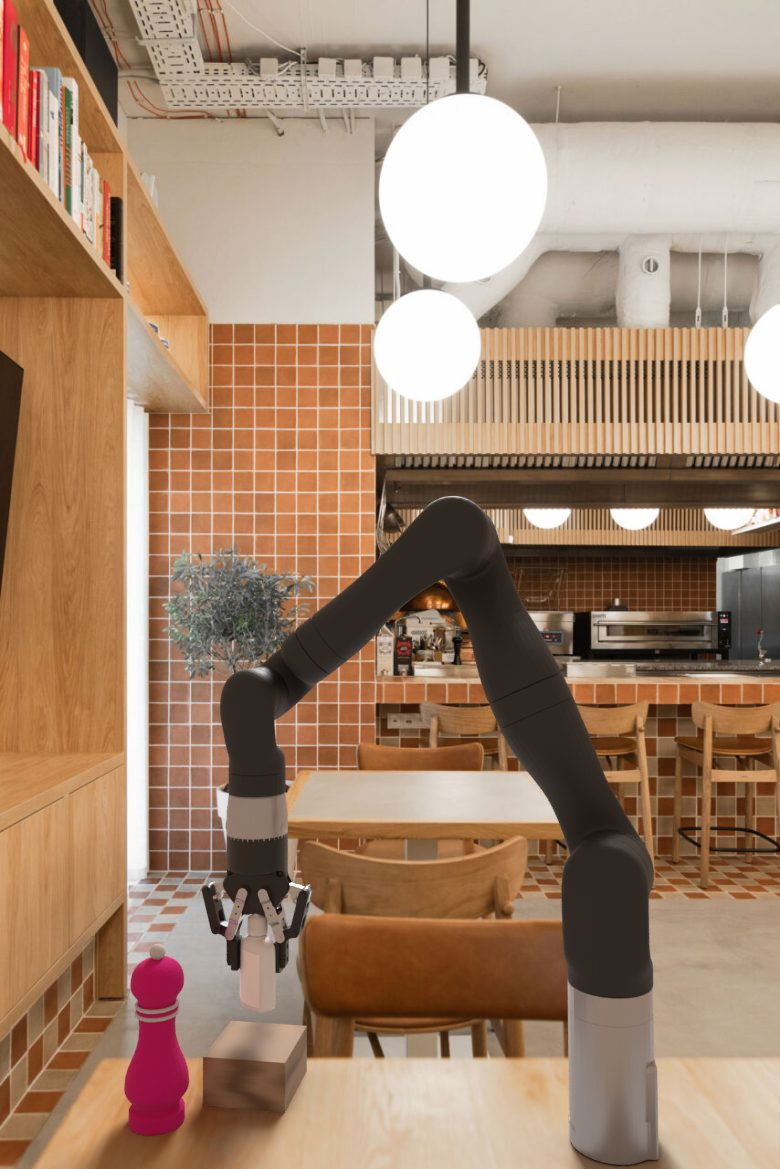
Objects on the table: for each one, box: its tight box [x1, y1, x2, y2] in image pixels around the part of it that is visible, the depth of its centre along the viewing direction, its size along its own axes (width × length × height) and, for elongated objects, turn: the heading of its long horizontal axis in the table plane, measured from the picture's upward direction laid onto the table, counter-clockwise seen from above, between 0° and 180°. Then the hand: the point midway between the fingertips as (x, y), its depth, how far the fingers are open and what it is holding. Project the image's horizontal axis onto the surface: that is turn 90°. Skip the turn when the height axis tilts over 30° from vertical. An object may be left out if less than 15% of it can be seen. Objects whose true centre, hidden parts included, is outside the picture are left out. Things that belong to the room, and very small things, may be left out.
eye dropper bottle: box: [239, 914, 276, 1014], centre depth 114 cm, size 4×6×12 cm
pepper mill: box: [123, 943, 190, 1137], centre depth 107 cm, size 7×7×20 cm
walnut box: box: [202, 1020, 308, 1114], centre depth 114 cm, size 10×10×6 cm
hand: (257, 969), depth 114 cm, fingers closed on eye dropper bottle, 5 cm apart
